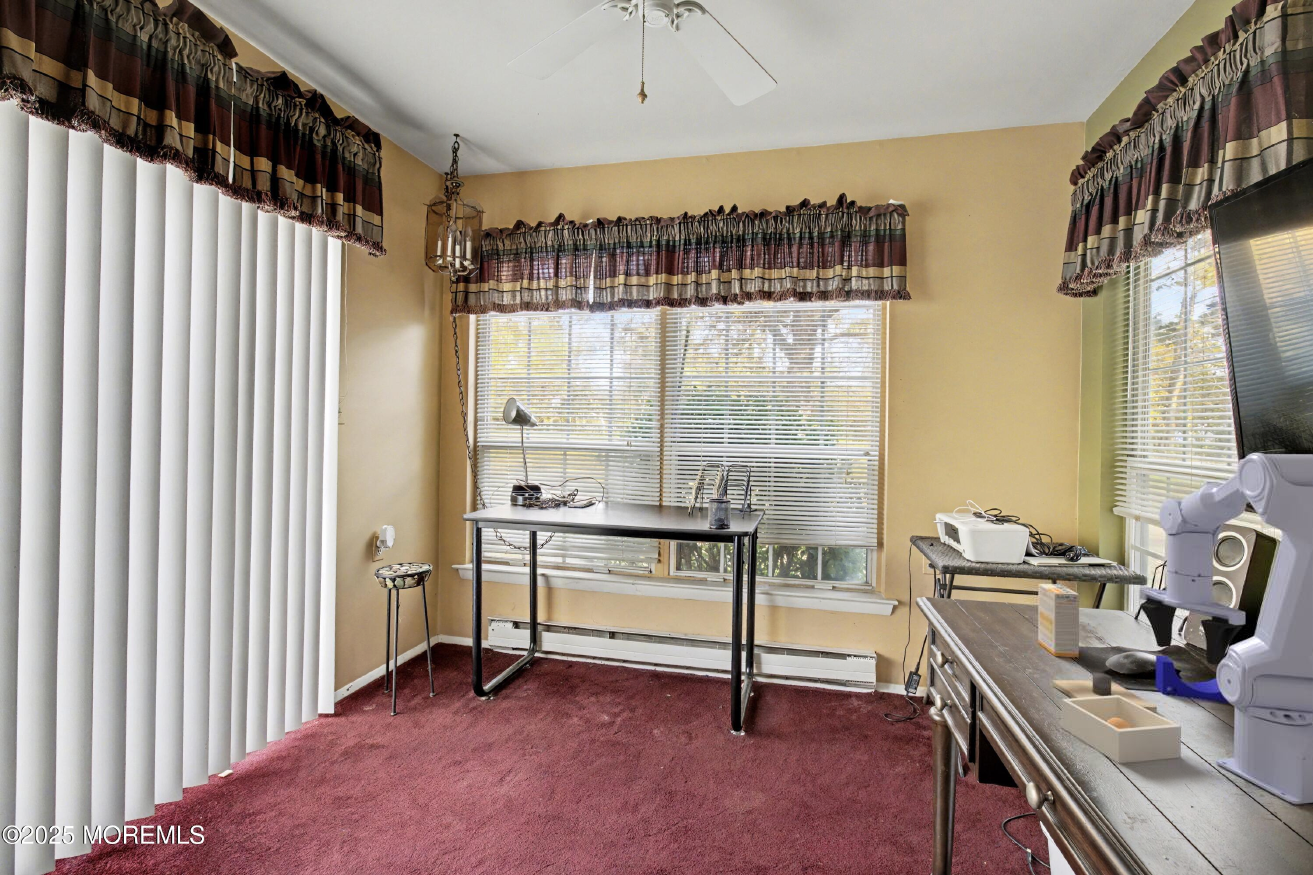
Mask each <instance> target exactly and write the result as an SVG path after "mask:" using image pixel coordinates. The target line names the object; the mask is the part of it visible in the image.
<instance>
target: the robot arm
mask: <svg viewBox="0 0 1313 875" xmlns="http://www.w3.org/2000/svg"><path fill="white" fill-rule="evenodd" d="M1236 470H1237V472H1236V473H1235V474H1234V475H1233V476H1232V477H1230V478H1229V479H1227V480H1226V481H1225V482H1219V481H1206V482H1204V483H1202V487H1200V488H1199V489H1197V490H1195V491H1194V492H1190V493H1189V494H1187V496H1186V497H1183V499H1174V498H1166V499H1165V500H1164V501H1163V502H1162V503H1161V505H1160V507H1159V512H1158V513H1159V524H1160V526H1161V528H1162V531H1164V533H1165V534H1166V590H1162V589H1157V588H1153V587H1148V586H1146V587H1140V588H1139V600H1142V601H1145V602H1144V603H1140V609H1141V610H1142V612H1143V613H1144V614H1145V616H1146V618H1147V619H1148V621H1149V624H1150V625H1151V629H1152V631H1153V634H1154V638H1155V642H1156V645H1157V647H1159V648H1166V647H1171V645H1172V640H1173V637H1172V636H1173V622H1174V618H1175V615H1176V611H1177V609H1179V610H1183V611H1188V612H1191V613H1195V614H1198V615H1202V616H1205V617H1209V618H1208V619H1201V620H1200V623H1201V626H1202V629H1203V633H1204V637H1205V644H1206V645H1205V646H1206V647H1205V648H1206V649H1205V651H1206V652H1205V653H1206V654H1205V655H1206V663H1207V664H1209V665H1212V666H1214V665H1218V666H1217V668H1216V678H1217V683H1218V686H1219V689H1220V691H1221V693H1222V695H1223V696H1224V697H1225V698H1226V699H1227V700H1228V702H1229V703H1228V704H1230V705H1232V706H1233V707H1234V722H1233V723H1234V730H1233V732H1234V734H1233V739H1234V741H1233V757H1229V758H1228V757H1227V758H1220V759H1219V758H1217V759H1215V764H1216V765H1218V766H1220V767H1222V768H1224V769H1226V770H1228V771H1230V772H1232V773H1234V774H1235V775H1237V776H1238V777H1241V778H1242V779H1245V780H1247V781H1249V782H1251V783H1253V784H1255V785H1256V786H1258V787H1260V788H1262V789H1264V790H1266V791H1267V792H1270V793H1272V795H1273V794H1274V795H1275V796H1276V797H1279V798H1281V799H1283V800H1285V801H1286V802H1288V803H1290V802H1291V803H1290V804H1294V805H1303V804H1310V803H1311V804H1312V803H1313V454H1308V453H1307V454H1306V453H1305V454H1302V453H1301V454H1300V453H1299V454H1296V453H1292V454H1290V453H1289V454H1288V453H1287V454H1285V453H1284V454H1283V453H1281V454H1279V453H1278V454H1277V453H1275V454H1274V453H1271V454H1270V453H1269V454H1268V453H1267V454H1266V453H1262V452H1253V453H1250V454H1248V455H1247V456H1245V458H1243V459H1239V461H1238V464H1237V469H1236ZM1249 503H1250V504H1251V506H1252V507H1253V509H1254V511H1255V512H1256V513H1257V514H1258V516H1259V518H1260V519H1261V520H1262V521H1263V523H1265V524H1266V525H1269V526H1271V527H1273V528H1276V529H1279V530H1280V532H1281V533H1282V535H1281V539H1280V543H1279V547H1278V551H1277V554H1276V558H1275V561H1274V564H1273V569H1272V572H1271V576H1270V579H1269V581H1268V582H1269V583H1268V585H1267V590H1266V594H1265V597H1264V600H1263V604H1262V608H1261V612H1260V615H1259V618H1258V622H1257V625H1256V628H1255V632H1254V635H1253V636H1251V637H1249V638H1247V639H1244V640H1241V641H1239V642H1236V643H1235V644H1232V645H1230V643H1231V642H1232V640H1233V638H1234V637H1235V636H1236V635H1237V634H1238V632H1239V631H1240V630H1241V629H1242V628H1243V625H1246V612H1245V611H1243V610H1240V609H1236V608H1233V607H1230V606H1227V605H1225V604H1221V603H1219V602H1216V601H1214V600H1213V597H1214V594H1213V592H1214V589H1213V588H1214V576H1213V575H1214V548H1216V547H1218V544H1219V536H1220V534H1221V532H1222V530H1223V528H1224V526H1223V525H1224V524H1225V523H1227V522H1230V521H1232V520H1233V519H1235V518H1237V517H1240V516H1241V515H1242V514H1243V513H1244V512H1245V510H1246V507H1247V504H1249ZM1210 618H1211V619H1210ZM1229 645H1230V646H1229ZM1227 649H1228V650H1227ZM1226 652H1227V653H1226ZM1225 655H1226V656H1225Z"/></svg>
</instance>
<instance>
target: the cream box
mask: <svg viewBox="0 0 1313 875" xmlns="http://www.w3.org/2000/svg"><path fill="white" fill-rule="evenodd" d="M1111 718H1120V719H1122V720H1124V721H1125V722H1127V723H1128V725H1129V726H1130V728H1126V729H1118V728H1116V727H1114V726H1112V725H1111V724H1109V723H1107V721H1108V720H1109V719H1111ZM1060 725H1061V727H1060V728H1061V729H1063V730H1065V731H1066V732H1067V733H1069V734H1071V735H1073V736H1074V737H1076V738H1077V739H1079V740H1080V741H1082V742H1083V743H1085V744H1086V745H1089V746H1090V747H1092V748H1093V749H1095V750H1097V751H1098V752H1099V753H1101V754H1103V755H1104V756H1106V757H1108V758H1109V759H1111V760H1113V761H1115V763H1117V764H1123V763H1125V764H1126V763H1135V762H1147V761H1157V760H1170V759H1180V758H1182V756H1181V752H1182V725H1179V724H1178V723H1175V722H1174V721H1172V720H1169V719H1168V718H1165V717H1163V716H1161V715H1159V714H1157V713H1156V712H1151V711H1149V710H1147V709H1145V708H1143V707H1141V706H1139V705H1137V704H1135V703H1133V702H1131V701H1129V700H1127V699H1125V698H1123V697H1121V696H1119V695H1113V696H1099V697H1086V698H1073V699H1072V698H1064V699H1063V698H1061V724H1060Z"/></svg>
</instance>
